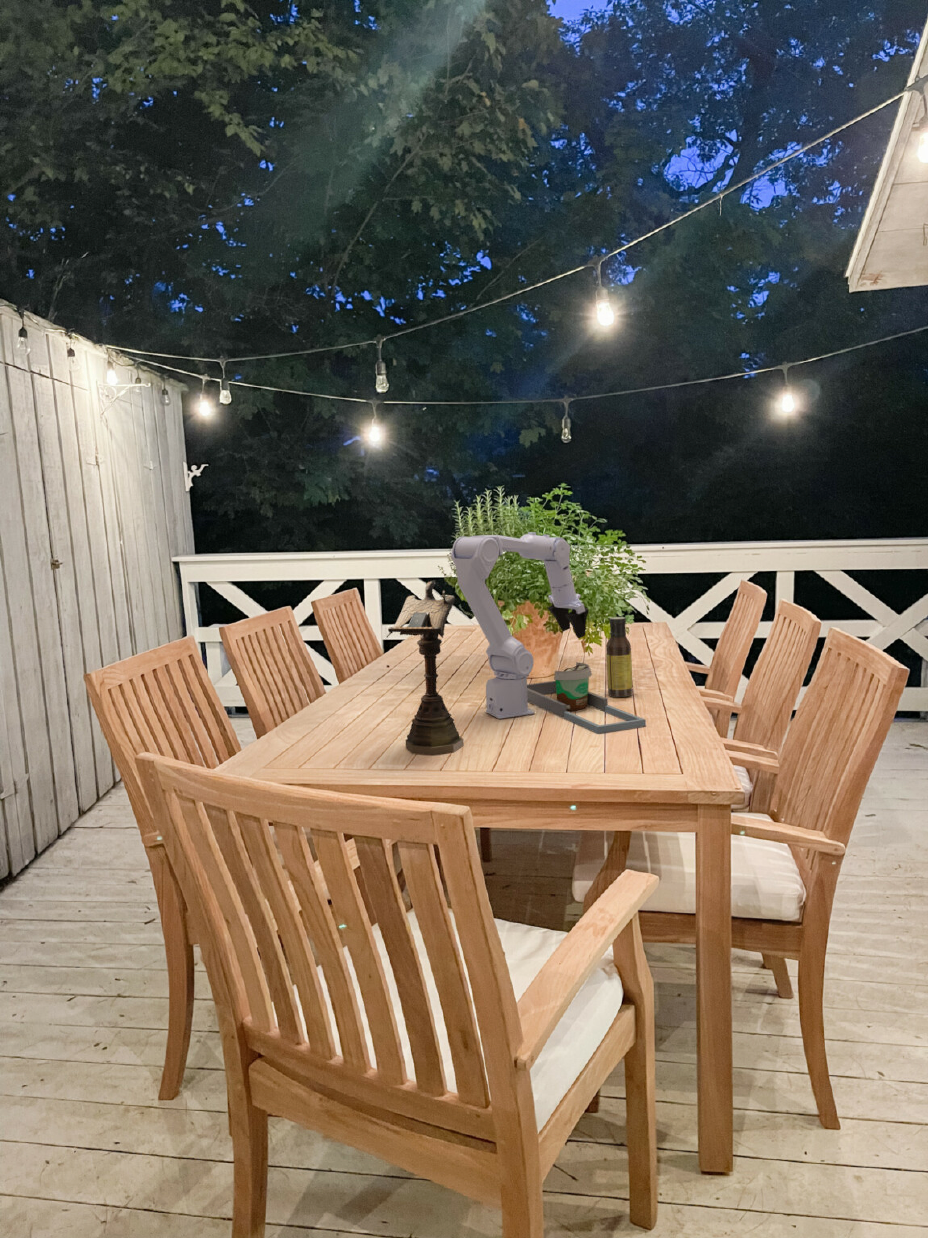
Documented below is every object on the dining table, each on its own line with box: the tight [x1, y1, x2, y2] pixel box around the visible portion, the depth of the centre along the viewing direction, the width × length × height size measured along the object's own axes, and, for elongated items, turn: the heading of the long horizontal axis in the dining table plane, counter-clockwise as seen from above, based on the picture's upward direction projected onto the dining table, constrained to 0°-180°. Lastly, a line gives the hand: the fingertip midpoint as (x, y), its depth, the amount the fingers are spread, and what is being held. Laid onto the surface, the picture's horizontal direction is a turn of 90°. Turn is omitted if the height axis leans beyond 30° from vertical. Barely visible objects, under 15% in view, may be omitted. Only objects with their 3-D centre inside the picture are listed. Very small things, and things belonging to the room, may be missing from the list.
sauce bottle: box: [605, 616, 634, 698], centre depth 209 cm, size 6×6×20 cm
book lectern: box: [386, 579, 465, 756], centre depth 168 cm, size 17×13×35 cm
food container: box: [553, 661, 593, 713], centre depth 199 cm, size 12×6×10 cm, turn 146°
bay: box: [563, 704, 647, 735], centre depth 186 cm, size 12×15×2 cm
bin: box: [527, 680, 609, 719], centre depth 204 cm, size 12×24×3 cm, turn 22°
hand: (573, 633), depth 209 cm, fingers open, 7 cm apart
